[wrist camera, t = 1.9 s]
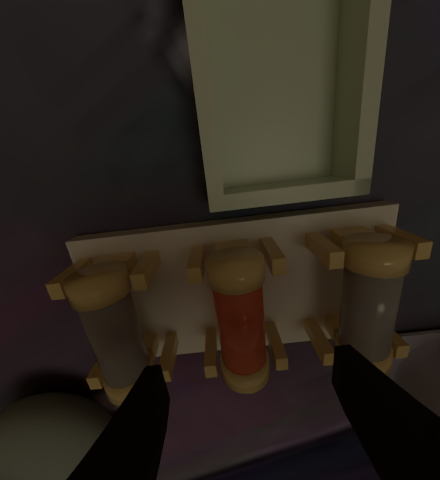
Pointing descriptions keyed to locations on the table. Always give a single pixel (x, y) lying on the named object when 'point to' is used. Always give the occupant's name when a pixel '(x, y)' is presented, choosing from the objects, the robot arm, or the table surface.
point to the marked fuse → (240, 316)
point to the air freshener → (48, 435)
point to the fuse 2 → (372, 293)
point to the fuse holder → (274, 288)
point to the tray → (286, 97)
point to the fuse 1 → (110, 324)
